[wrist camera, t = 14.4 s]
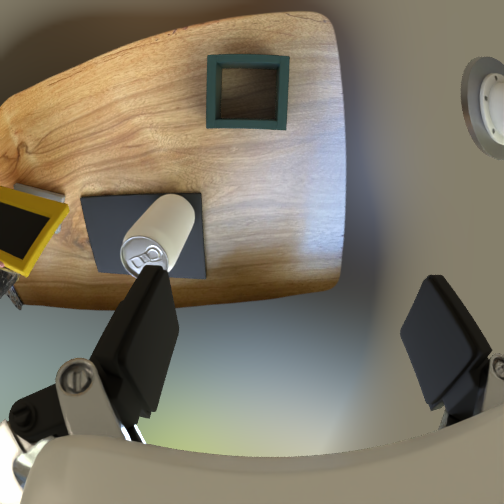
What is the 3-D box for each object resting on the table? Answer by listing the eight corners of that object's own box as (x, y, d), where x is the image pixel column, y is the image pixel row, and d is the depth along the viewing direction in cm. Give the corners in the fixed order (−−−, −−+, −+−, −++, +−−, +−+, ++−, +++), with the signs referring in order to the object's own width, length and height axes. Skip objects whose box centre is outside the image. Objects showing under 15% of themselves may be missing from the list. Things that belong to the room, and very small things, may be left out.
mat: (201, 192, 36) (200, 194, 35) (206, 277, 43) (205, 279, 42) (81, 196, 36) (80, 197, 35) (99, 270, 43) (98, 272, 42)
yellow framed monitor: (79, 195, 36) (16, 245, 22) (80, 237, 39) (28, 294, 26) (7, 178, 33) (-49, 213, 19) (10, 214, 37) (-40, 254, 23)
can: (204, 223, 37) (184, 272, 27) (168, 241, 39) (140, 292, 29) (180, 184, 35) (148, 221, 24) (144, 206, 36) (105, 247, 26)
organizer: (284, 63, 27) (289, 56, 22) (282, 127, 31) (286, 130, 27) (214, 61, 27) (207, 54, 22) (213, 125, 31) (206, 128, 27)
